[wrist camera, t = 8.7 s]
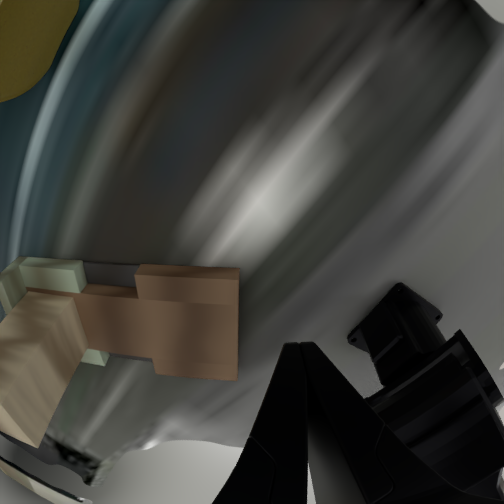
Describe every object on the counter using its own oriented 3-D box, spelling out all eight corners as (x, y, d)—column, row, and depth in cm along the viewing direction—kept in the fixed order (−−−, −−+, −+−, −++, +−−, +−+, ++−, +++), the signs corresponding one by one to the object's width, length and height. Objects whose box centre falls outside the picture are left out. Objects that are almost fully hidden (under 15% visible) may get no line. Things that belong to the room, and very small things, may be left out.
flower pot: (34, -26, 10) (-43, -48, 2) (116, -14, 12) (37, -61, 4) (-11, 75, 14) (-96, 87, 6) (58, 103, 16) (-41, 121, 8)
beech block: (73, 297, 21) (1, 404, 11) (89, 344, 23) (38, 448, 13) (28, 291, 21) (-44, 381, 11) (46, 336, 23) (-9, 425, 13)
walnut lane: (239, 268, 21) (236, 303, 18) (238, 367, 26) (236, 404, 22) (19, 256, 21) (-8, 280, 18) (51, 343, 26) (33, 370, 22)
